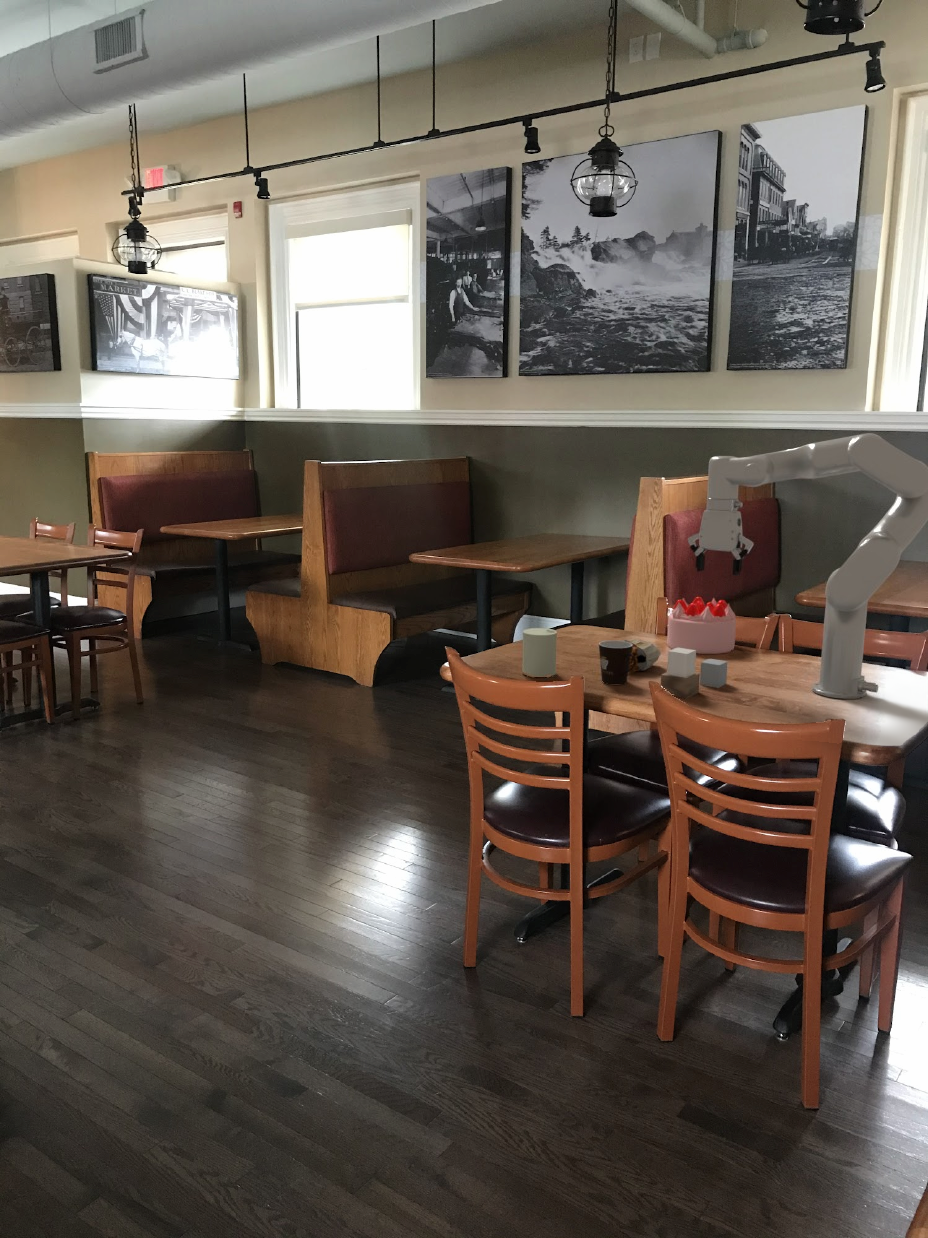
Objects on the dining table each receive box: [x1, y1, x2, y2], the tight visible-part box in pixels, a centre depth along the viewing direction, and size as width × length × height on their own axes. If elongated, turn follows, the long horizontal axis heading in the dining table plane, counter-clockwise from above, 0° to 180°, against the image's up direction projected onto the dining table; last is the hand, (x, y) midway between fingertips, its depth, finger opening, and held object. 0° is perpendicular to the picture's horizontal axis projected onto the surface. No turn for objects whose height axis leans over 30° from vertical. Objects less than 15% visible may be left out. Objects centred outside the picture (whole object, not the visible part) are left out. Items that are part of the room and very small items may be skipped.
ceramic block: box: [666, 647, 697, 678], centre depth 240 cm, size 5×5×6 cm
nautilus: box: [623, 638, 662, 676], centre depth 263 cm, size 8×22×15 cm
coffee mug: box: [598, 640, 636, 685], centre depth 249 cm, size 12×9×10 cm
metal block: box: [660, 671, 700, 699], centre depth 241 cm, size 7×7×5 cm
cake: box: [666, 596, 737, 655], centre depth 290 cm, size 20×20×14 cm
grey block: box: [699, 658, 729, 689], centre depth 249 cm, size 5×5×6 cm
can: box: [521, 627, 558, 676], centre depth 258 cm, size 9×9×12 cm
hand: (718, 572), depth 248 cm, fingers open, 9 cm apart
